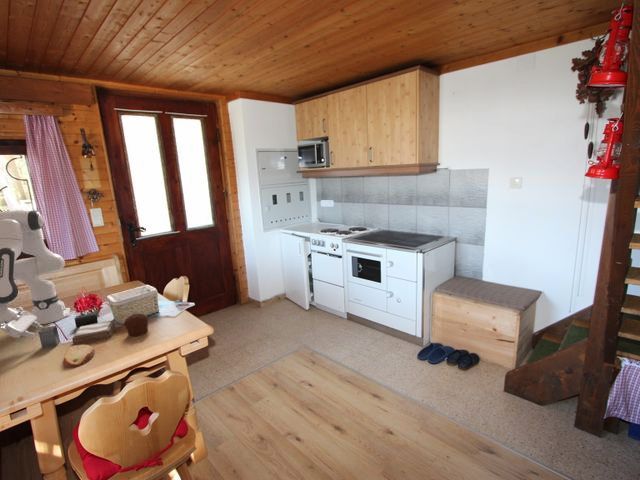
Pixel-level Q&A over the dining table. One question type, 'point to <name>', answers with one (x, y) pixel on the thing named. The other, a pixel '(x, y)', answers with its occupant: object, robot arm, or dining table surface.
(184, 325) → the dining table surface
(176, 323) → the dining table surface
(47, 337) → the block
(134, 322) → the muffin
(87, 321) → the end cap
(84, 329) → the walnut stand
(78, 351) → the slice of bread
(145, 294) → the storage basket
